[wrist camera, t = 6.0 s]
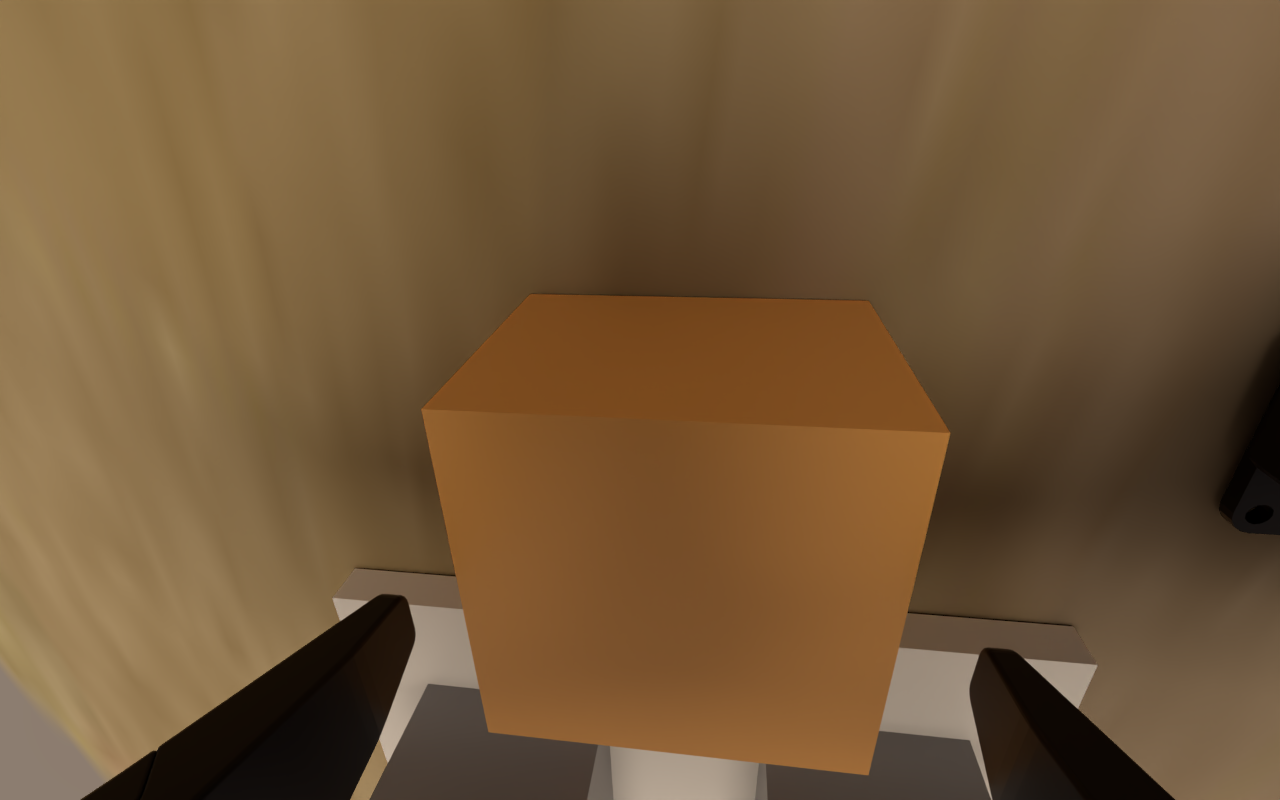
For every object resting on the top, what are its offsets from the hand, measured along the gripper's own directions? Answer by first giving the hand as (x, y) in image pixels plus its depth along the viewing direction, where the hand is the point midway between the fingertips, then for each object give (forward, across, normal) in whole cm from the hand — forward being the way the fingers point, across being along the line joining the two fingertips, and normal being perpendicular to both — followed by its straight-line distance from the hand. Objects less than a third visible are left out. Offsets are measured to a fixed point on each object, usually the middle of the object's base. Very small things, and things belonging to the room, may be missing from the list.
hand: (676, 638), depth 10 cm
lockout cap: (+6, 0, 0) cm, 6 cm away
